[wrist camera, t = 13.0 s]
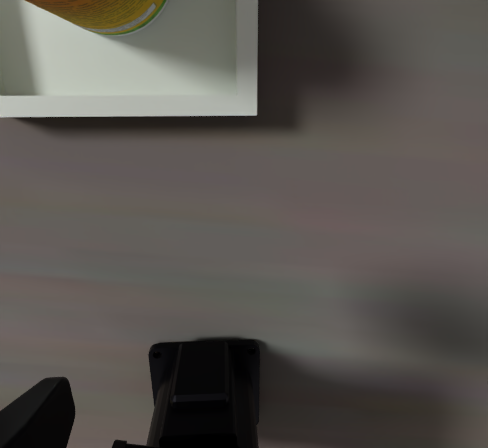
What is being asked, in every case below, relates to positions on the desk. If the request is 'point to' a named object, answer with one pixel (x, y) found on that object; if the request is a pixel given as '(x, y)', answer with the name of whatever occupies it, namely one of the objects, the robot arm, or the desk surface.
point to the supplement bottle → (105, 14)
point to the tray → (131, 63)
